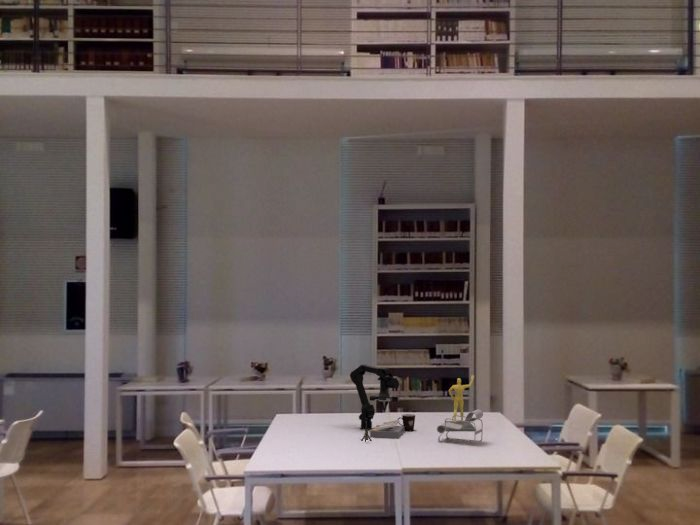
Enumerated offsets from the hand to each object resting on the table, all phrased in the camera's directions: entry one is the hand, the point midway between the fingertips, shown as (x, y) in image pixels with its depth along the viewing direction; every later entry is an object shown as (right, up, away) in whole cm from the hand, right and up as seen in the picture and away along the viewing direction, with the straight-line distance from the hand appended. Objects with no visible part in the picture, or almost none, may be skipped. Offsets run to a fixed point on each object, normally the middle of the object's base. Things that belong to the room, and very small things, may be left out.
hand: (384, 411), depth 520 cm
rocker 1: (+4, -6, -4) cm, 9 cm away
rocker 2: (+2, -6, -11) cm, 13 cm away
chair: (+44, -12, -34) cm, 57 cm away
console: (+1, -13, -11) cm, 17 cm away
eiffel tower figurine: (-13, -13, -30) cm, 35 cm away
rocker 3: (+1, -6, -18) cm, 19 cm away
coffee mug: (+14, -13, +4) cm, 20 cm away
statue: (+50, -14, +11) cm, 53 cm away
